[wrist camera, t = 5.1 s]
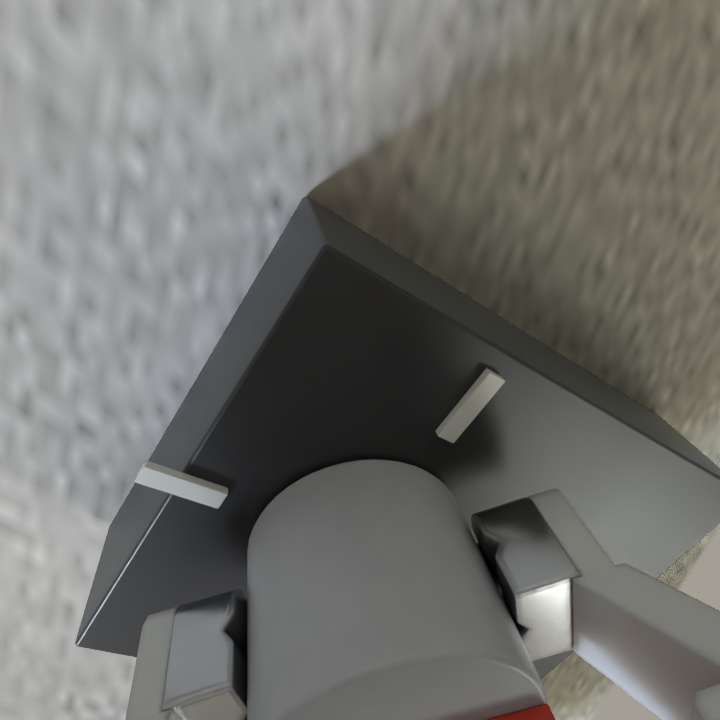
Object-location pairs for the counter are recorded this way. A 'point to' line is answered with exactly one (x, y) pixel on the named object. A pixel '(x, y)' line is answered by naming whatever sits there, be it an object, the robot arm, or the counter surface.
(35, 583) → the counter surface
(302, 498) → the dial
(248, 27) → the counter surface
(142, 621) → the console
